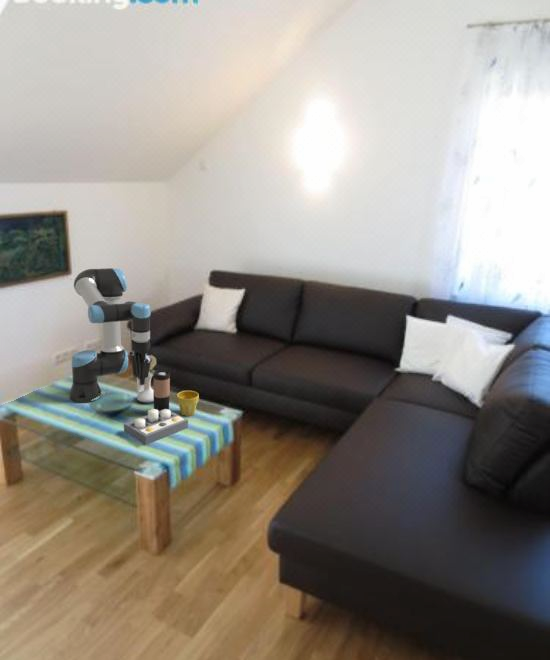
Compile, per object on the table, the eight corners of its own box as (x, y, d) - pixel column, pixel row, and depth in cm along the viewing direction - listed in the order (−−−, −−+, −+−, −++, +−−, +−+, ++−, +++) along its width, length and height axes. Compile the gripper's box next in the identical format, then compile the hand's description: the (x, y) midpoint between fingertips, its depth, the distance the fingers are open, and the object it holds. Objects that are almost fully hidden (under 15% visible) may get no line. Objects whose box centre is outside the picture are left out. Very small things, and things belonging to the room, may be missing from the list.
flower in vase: (132, 398, 252) (132, 352, 246) (152, 393, 260) (152, 348, 253) (145, 407, 243) (145, 359, 237) (165, 402, 251) (166, 355, 244)
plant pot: (173, 415, 237) (173, 396, 235) (182, 407, 247) (182, 389, 244) (193, 419, 235) (193, 400, 232) (201, 410, 245) (202, 392, 242)
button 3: (158, 421, 229) (158, 411, 227) (166, 418, 232) (166, 408, 231) (164, 424, 226) (164, 414, 224) (172, 421, 229) (172, 411, 228)
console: (123, 431, 219) (123, 423, 218) (165, 416, 236) (165, 408, 235) (145, 445, 209) (145, 436, 208) (187, 428, 226) (188, 420, 225)
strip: (139, 431, 212) (139, 429, 212) (178, 416, 228) (178, 415, 228) (145, 434, 209) (145, 433, 209) (184, 419, 225) (184, 418, 225)
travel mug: (155, 415, 236) (155, 376, 231) (151, 408, 242) (151, 370, 237) (171, 413, 240) (171, 374, 234) (166, 406, 246) (167, 369, 241)
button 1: (132, 430, 218) (132, 420, 217) (141, 427, 222) (141, 417, 220) (138, 434, 215) (138, 423, 214) (147, 430, 219) (147, 420, 217)
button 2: (145, 421, 223) (145, 410, 221) (154, 418, 226) (154, 408, 225) (152, 424, 220) (152, 414, 219) (160, 421, 223) (160, 411, 222)
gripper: (124, 337, 210) (124, 388, 217) (142, 345, 202) (142, 398, 209) (139, 334, 216) (138, 384, 223) (157, 342, 208) (156, 393, 215)
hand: (140, 390), depth 216 cm, fingers closed
